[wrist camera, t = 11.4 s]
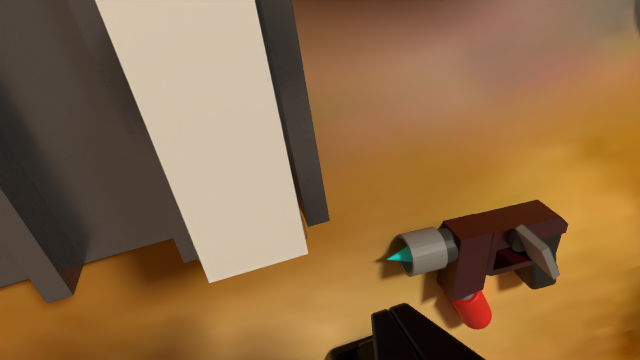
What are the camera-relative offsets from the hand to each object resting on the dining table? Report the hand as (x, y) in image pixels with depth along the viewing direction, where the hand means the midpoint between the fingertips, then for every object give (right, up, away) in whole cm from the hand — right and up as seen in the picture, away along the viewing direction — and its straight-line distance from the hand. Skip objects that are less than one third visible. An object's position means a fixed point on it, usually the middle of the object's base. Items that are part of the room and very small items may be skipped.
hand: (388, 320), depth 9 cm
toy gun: (+8, -2, +18) cm, 20 cm away
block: (-6, +7, +7) cm, 11 cm away
